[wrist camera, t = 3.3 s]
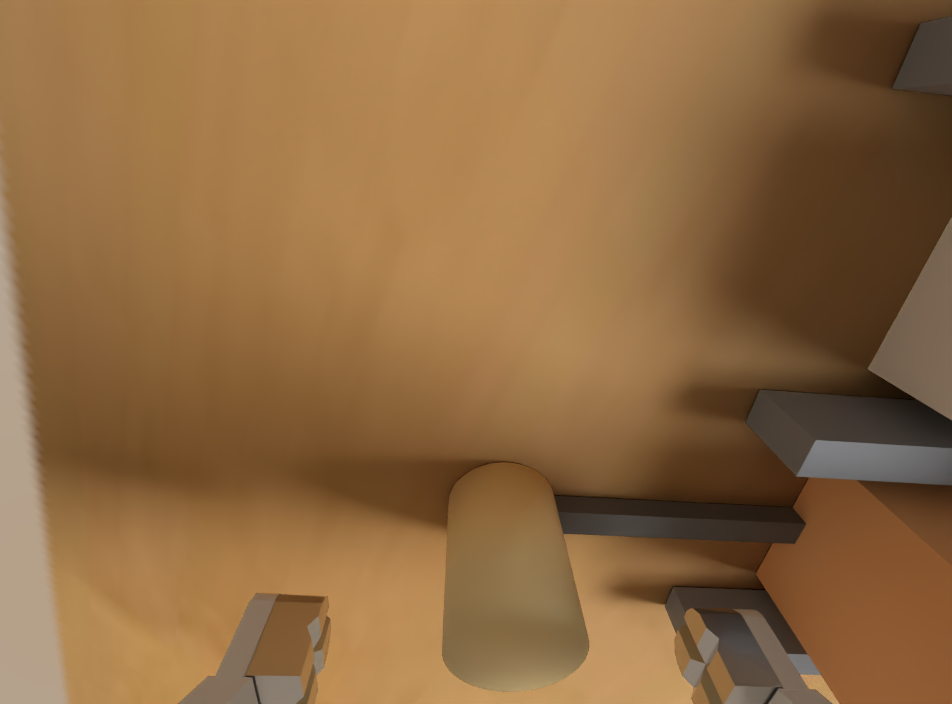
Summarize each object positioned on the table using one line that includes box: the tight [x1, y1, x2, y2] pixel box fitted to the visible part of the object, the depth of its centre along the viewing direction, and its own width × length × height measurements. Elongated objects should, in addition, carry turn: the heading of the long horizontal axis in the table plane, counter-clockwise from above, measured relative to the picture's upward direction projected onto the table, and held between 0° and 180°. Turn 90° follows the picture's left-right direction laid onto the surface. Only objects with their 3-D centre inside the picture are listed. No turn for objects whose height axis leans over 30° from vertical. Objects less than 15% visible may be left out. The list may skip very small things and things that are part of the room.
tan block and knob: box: [442, 462, 952, 704], centre depth 11 cm, size 5×16×5 cm, turn 85°
